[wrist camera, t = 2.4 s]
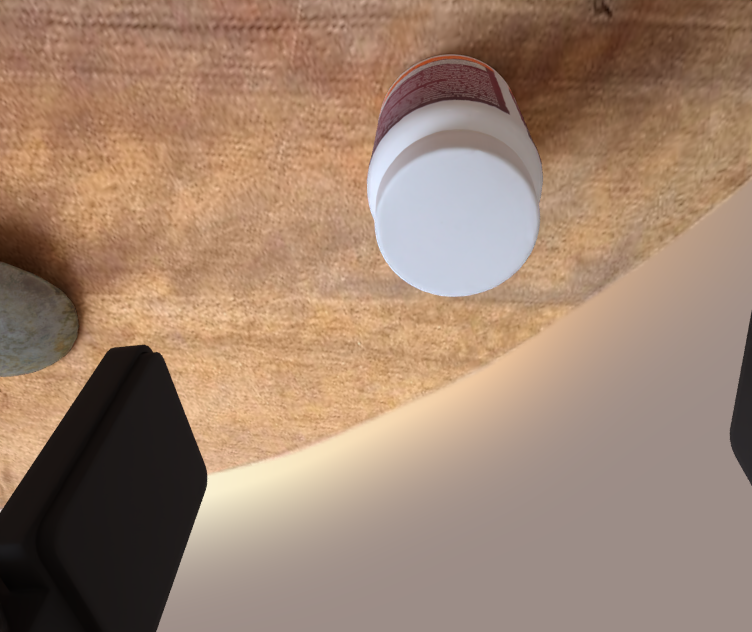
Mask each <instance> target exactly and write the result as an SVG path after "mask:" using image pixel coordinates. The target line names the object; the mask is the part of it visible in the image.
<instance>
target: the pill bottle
mask: <svg viewBox="0 0 752 632" xmlns="http://www.w3.org/2000/svg"><path fill="white" fill-rule="evenodd" d="M542 184H543V172H542V163H541V159H540V156H539V153H538V151H537V148H536V146H535V144H534V142H533V141H532V138H531V136H530V133H529V131H528V128H527V126H526V124H525V121H524V119H523V116H522V114H521V112H520V110H519V107H518V105H517V103H516V100H515V98H514V96H513V94H512V91H511V90H510V88H509V86H508V84H507V83H506V82H505V80H504V79H503V78H502V77H501V76H500V75H499V74H498V73H497V72H496V71H495V70H494V69H493V68H492V67H490V66H489V65H487V64H485V63H483V62H482V61H480V60H477V59H475V58H472V57H469V56H464V55H457V54H446V55H438V56H434V57H430V58H427V59H425V60H423V61H420V62H418V63H416V64H415V65H413V66H412V67H410V68H409V69H407V70H406V71H405V72H404V73H403V74H401V75H400V77H399V78H398V79H397V80H396V81H395V82H394V84H393V85H392V86H391V88H390V89H389V91H388V93H387V95H386V97H385V99H384V102H383V105H382V108H381V112H380V116H379V120H378V127H377V131H376V137H375V142H374V147H373V152H372V156H371V160H370V163H369V170H368V178H367V195H368V202H369V206H370V210H371V213H372V216H373V218H374V221H375V233H376V238H377V243H378V246H379V249H380V251H381V253H382V255H383V257H384V259H385V260H386V262H387V263H388V265H389V266H390V267H391V269H392V270H393V271H394V272H395V273H396V274H397V275H398V276H399V277H400V278H402V279H403V280H404V281H406V282H407V283H408V284H410V285H412V286H414V287H416V288H418V289H420V290H422V291H425V292H428V293H431V294H436V295H440V296H451V297H456V296H468V295H473V294H477V293H481V292H484V291H487V290H489V289H492V288H494V287H496V286H498V285H500V284H501V283H503V282H504V281H506V280H507V279H509V278H510V277H511V276H512V275H514V274H515V273H516V272H517V271H518V270H519V269H520V268H521V267H522V265H523V264H524V263H525V261H526V260H527V259H528V257H529V255H530V254H531V252H532V250H533V248H534V245H535V243H536V240H537V236H538V232H539V226H540V208H539V202H540V198H541V192H542Z"/></svg>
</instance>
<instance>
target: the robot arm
mask: <svg viewBox="0 0 752 632" xmlns="http://www.w3.org/2000/svg"><path fill="white" fill-rule="evenodd" d="M730 442H731V446H732V450H733V452H734V454H735V456H736V458H737V460H738V462H739V464H740V465H741V467H742V469H743V471H744V472H745V474H746V476H747V477H748V480H749V481H750V483H751V485H752V312H751V318H750V323H749V329H748V334H747V340H746V346H745V351H744V356H743V362H742V367H741V373H740V378H739V384H738V389H737V395H736V400H735V406H734V411H733V416H732V422H731V427H730ZM206 487H207V470H206V466H205V464H204V461H203V458H202V456H201V453H200V451H199V448H198V446H197V443H196V440H195V438H194V435H193V433H192V430H191V428H190V425H189V422H188V420H187V417H186V415H185V412H184V410H183V407H182V404H181V402H180V399H179V397H178V394H177V391H176V389H175V386H174V384H173V381H172V379H171V376H170V373H169V371H168V368H167V366H166V363H165V361H164V358H163V357H162V355H161V354H160V353H158V352H154V353H153V351H152V350H151V349H150V348H149V346H146V345H137V346H126V347H115V348H111V349H110V350H109V351H108V352H107V353H106V354H105V356H104V357H103V359H102V360H101V362H100V363H99V365H98V366H97V368H96V369H95V371H94V372H93V374H92V375H91V377H90V378H89V380H88V381H87V383H86V384H85V386H84V387H83V389H82V390H81V392H80V393H79V395H78V397H77V398H76V400H75V401H74V403H73V404H72V406H71V407H70V409H69V410H68V412H67V413H66V415H65V416H64V418H63V419H62V421H61V422H60V424H59V425H58V427H57V428H56V430H55V431H54V433H53V434H52V436H51V437H50V439H49V440H48V442H47V443H46V445H45V446H44V448H43V449H42V451H41V452H40V454H39V455H38V457H37V458H36V460H35V461H34V463H33V464H32V466H31V467H30V469H29V470H28V472H27V473H26V475H25V476H24V478H23V479H22V481H21V482H20V484H19V485H18V487H17V488H16V490H15V491H14V493H13V494H12V496H11V497H10V499H9V500H8V502H7V503H6V505H5V506H4V508H3V509H2V511H1V512H0V632H156V630H157V628H158V625H159V622H160V619H161V616H162V613H163V611H164V607H165V605H166V602H167V599H168V596H169V593H170V590H171V588H172V585H173V582H174V579H175V576H176V573H177V570H178V567H179V565H180V562H181V559H182V556H183V553H184V550H185V548H186V545H187V542H188V539H189V536H190V533H191V530H192V527H193V525H194V522H195V519H196V516H197V513H198V510H199V508H200V504H201V502H202V499H203V496H204V493H205V490H206Z"/></svg>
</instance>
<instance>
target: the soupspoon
mask: <svg viewBox="0 0 752 632" xmlns="http://www.w3.org/2000/svg"><path fill="white" fill-rule="evenodd" d="M78 327H79V325H78V315H77V312H76V308H75V307H74V305H73V303H72V302H71V300H70V299H69V298H68V297H67V296H66V295H65V293H63V292H62V291H61V290H60V289H59V288H57V287H55V286H54V285H52V284H51V283H50V282H48V281H47V280H44V279H43V278H41V277H39V276H37V275H34V274H32V273H30V272H28V271H25V270H22V269H20V268H17V267H14V266H13V265H9V264H7V263H4V262H1V261H0V377H9V376H18V375H23V374H29V373H32V372H36V371H39V370H41V369H44V368H46V367H47V366H50V365H52V364H54V363H55V362H57V361H58V360H59V359H61V358H62V357H64V356H65V355H66V354H67V353H68V352H69V351H70V350H71V348H72V346H73V343H74V342H75V340H76V338H77V333H78V332H77V330H78Z"/></svg>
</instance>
